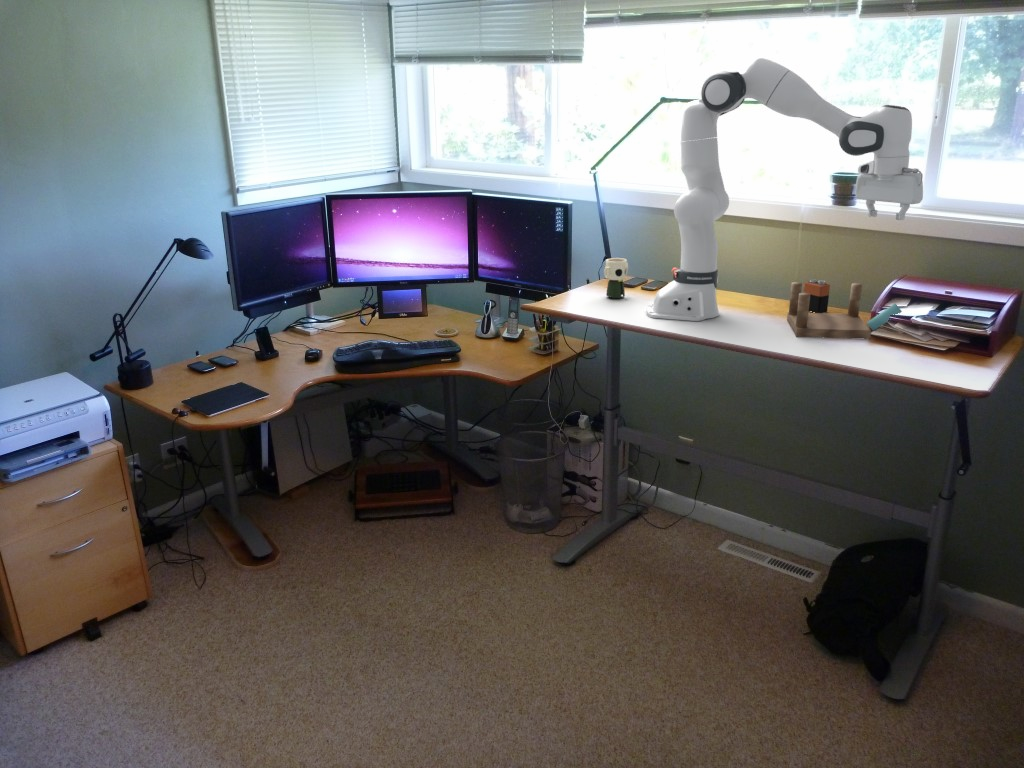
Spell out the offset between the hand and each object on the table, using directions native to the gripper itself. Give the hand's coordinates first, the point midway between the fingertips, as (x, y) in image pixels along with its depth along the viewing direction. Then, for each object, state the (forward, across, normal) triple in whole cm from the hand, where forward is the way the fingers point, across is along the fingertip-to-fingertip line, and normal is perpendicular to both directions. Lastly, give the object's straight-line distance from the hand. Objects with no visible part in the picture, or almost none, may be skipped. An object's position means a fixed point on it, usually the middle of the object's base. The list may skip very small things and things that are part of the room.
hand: (886, 218), depth 233 cm
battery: (+32, +25, 0) cm, 40 cm away
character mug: (+29, +70, +45) cm, 88 cm away
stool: (+32, +7, +12) cm, 35 cm away
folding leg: (+29, -4, +7) cm, 30 cm away
